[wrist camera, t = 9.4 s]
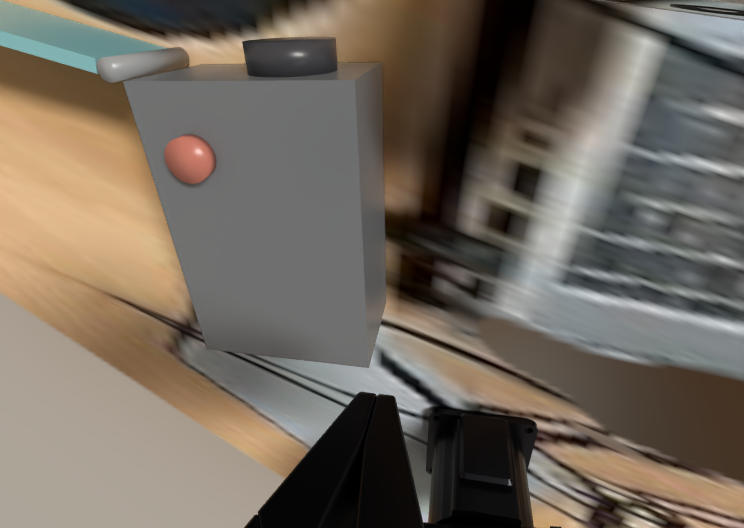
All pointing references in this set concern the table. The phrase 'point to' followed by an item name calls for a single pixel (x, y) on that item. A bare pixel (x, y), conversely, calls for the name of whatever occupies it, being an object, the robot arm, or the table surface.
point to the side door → (84, 45)
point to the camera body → (274, 196)
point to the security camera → (693, 6)
